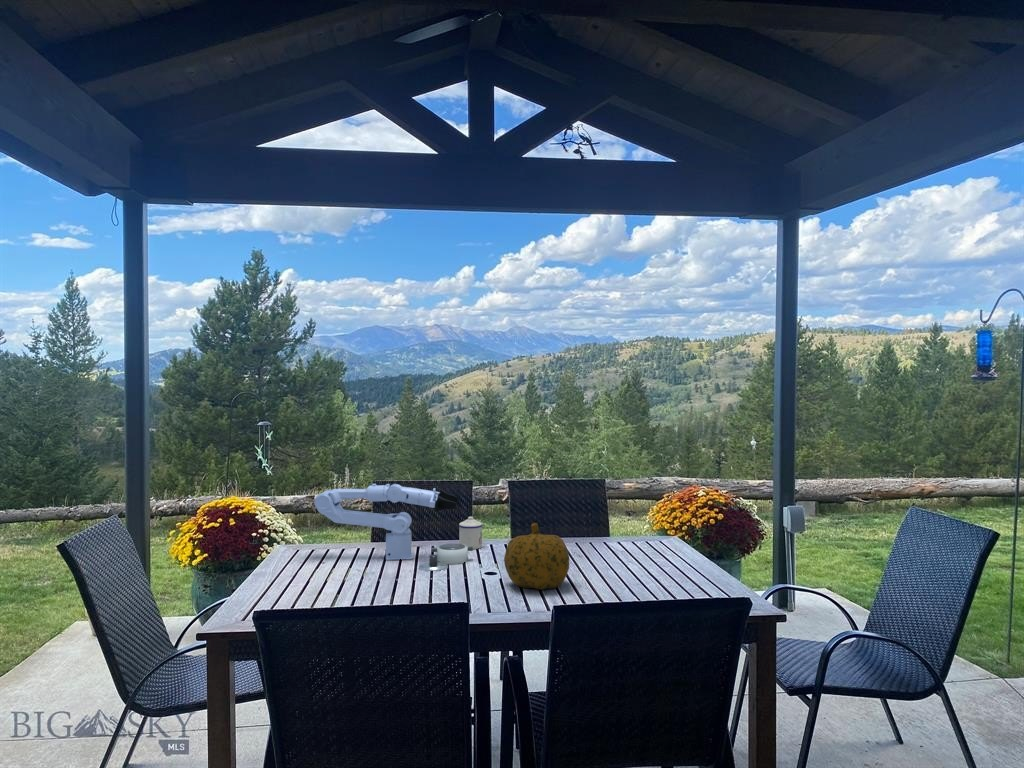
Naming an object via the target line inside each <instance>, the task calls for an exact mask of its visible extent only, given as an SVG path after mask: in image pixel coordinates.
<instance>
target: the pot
mask: <svg viewBox="0 0 1024 768" xmlns="http://www.w3.org/2000/svg"><path fill="white" fill-rule="evenodd" d="M473 551H474V549H473V547H472V546H471V547H468V546H467V545H464V544H459V543H444V544H443V543H442V544H439V545H437V546H436V547H431V553H436V555H438V562H441V563H446V564H447V565H459V564H458V563H461V564H464V562H465V563H467V562H468V559H469V555H468V554H469V553H468V552H473ZM466 561H467V562H466Z"/></svg>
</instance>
